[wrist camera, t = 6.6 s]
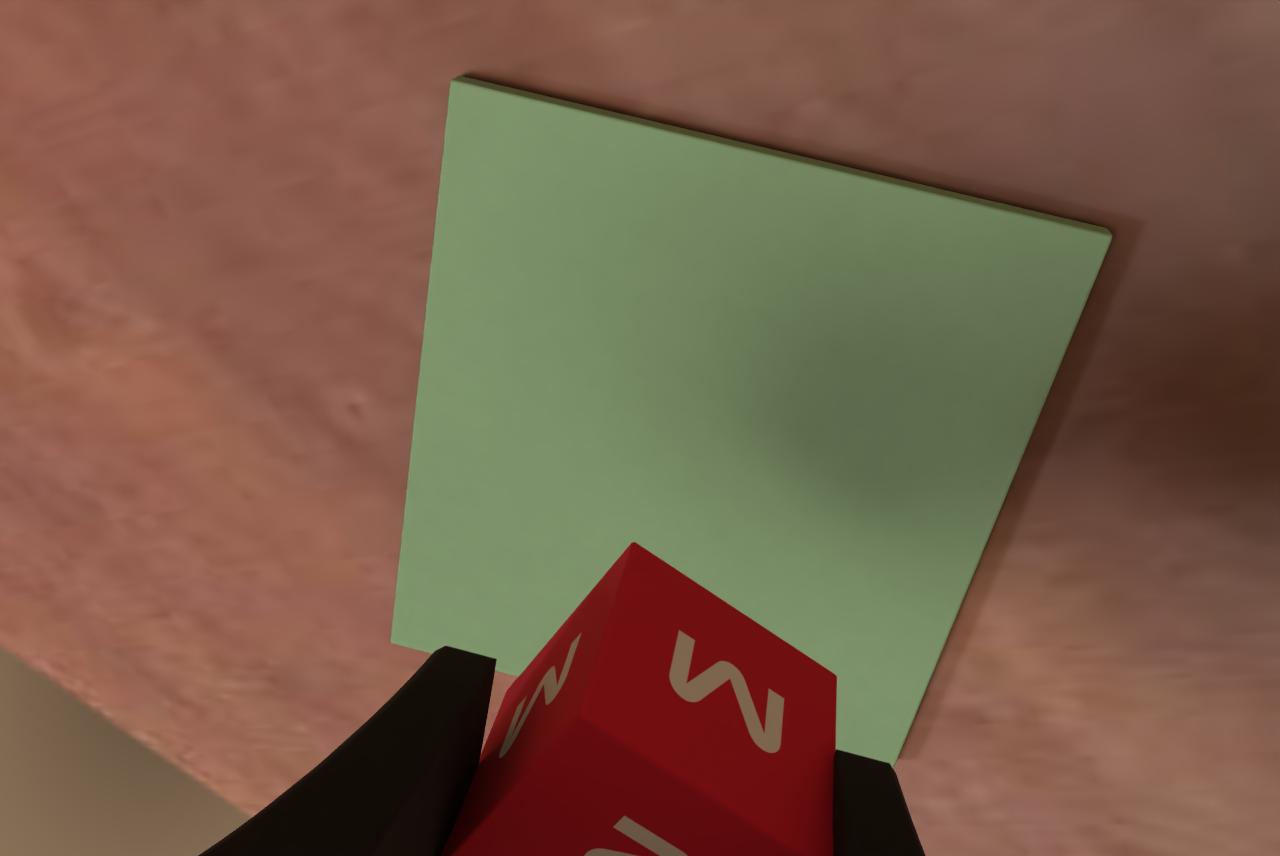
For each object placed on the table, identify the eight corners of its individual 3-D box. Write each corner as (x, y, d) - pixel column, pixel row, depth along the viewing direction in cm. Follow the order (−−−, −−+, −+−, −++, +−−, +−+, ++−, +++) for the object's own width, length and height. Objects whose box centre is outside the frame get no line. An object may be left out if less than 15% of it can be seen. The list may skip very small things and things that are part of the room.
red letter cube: (695, 809, 15) (661, 1014, 12) (506, 690, 15) (430, 877, 12) (839, 674, 14) (834, 874, 11) (633, 539, 13) (579, 713, 11)
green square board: (890, 761, 22) (891, 776, 22) (396, 630, 23) (389, 643, 22) (1109, 227, 17) (1114, 236, 16) (458, 74, 17) (450, 79, 17)
